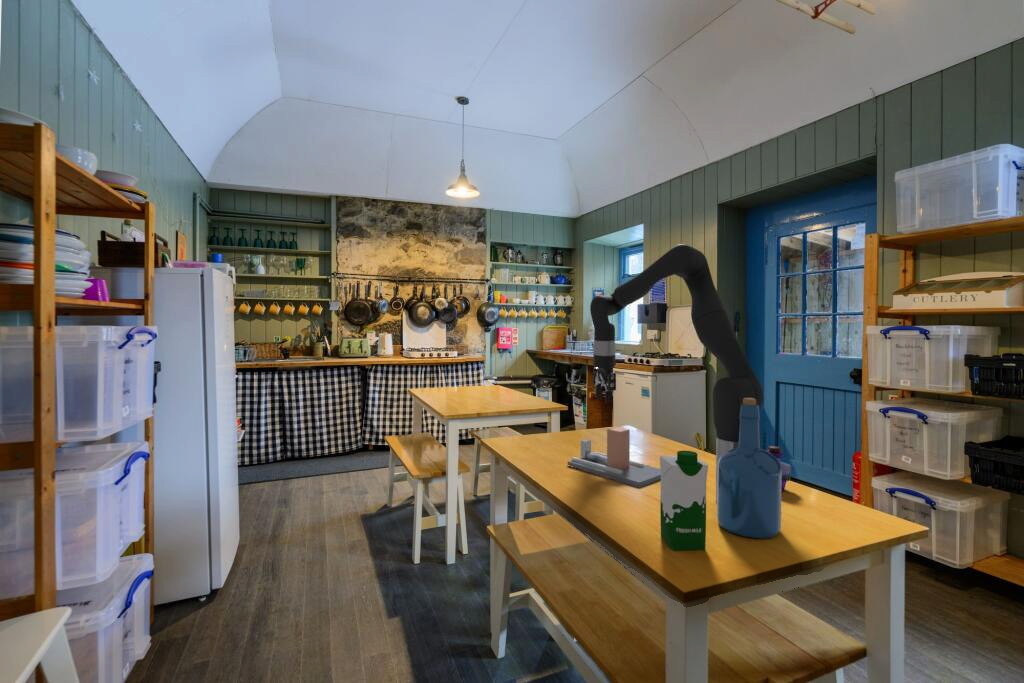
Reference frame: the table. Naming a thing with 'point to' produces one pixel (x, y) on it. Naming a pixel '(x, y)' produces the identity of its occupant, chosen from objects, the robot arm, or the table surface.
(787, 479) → the potion bottle
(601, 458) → the grey l-shaped rod
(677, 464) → the milk carton
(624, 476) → the track
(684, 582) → the table surface
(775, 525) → the wine bottle
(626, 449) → the block
